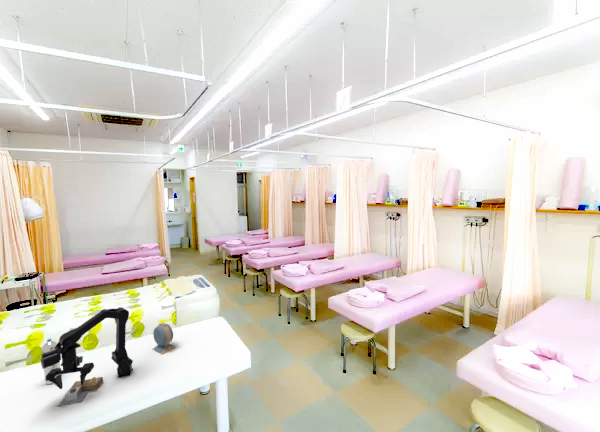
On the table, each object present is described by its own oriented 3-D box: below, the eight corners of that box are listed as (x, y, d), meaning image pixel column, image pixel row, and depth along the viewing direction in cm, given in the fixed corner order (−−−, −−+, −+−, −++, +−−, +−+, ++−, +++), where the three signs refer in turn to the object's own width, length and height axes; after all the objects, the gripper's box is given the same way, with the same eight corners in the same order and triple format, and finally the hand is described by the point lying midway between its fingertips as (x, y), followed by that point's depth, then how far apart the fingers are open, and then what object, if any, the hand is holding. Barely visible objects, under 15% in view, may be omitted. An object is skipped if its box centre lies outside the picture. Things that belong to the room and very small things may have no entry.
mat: (88, 391, 147) (88, 390, 147) (81, 401, 140) (81, 400, 140) (66, 396, 145) (66, 394, 144) (58, 406, 137) (58, 405, 137)
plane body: (103, 381, 155) (102, 376, 155) (98, 389, 149) (98, 383, 149) (75, 386, 151) (75, 381, 151) (70, 394, 146) (69, 389, 145)
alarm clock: (176, 347, 188) (175, 323, 186) (163, 355, 180) (161, 329, 178) (164, 342, 195) (163, 318, 194) (151, 348, 187) (149, 324, 186)
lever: (98, 381, 151) (98, 375, 150) (96, 385, 148) (95, 379, 148) (92, 382, 150) (91, 376, 150) (89, 386, 147) (89, 380, 147)
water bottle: (47, 386, 152) (43, 343, 150) (43, 382, 156) (38, 340, 153) (63, 379, 158) (59, 338, 155) (59, 375, 161) (54, 334, 159)
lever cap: (81, 393, 145) (81, 385, 145) (77, 400, 141) (76, 391, 140) (70, 395, 144) (69, 387, 144) (65, 402, 139) (64, 394, 139)
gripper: (97, 346, 151) (99, 373, 152) (56, 352, 145) (59, 380, 147) (88, 358, 140) (90, 386, 141) (43, 365, 135) (46, 394, 136)
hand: (72, 386), depth 142 cm, fingers open, 9 cm apart
